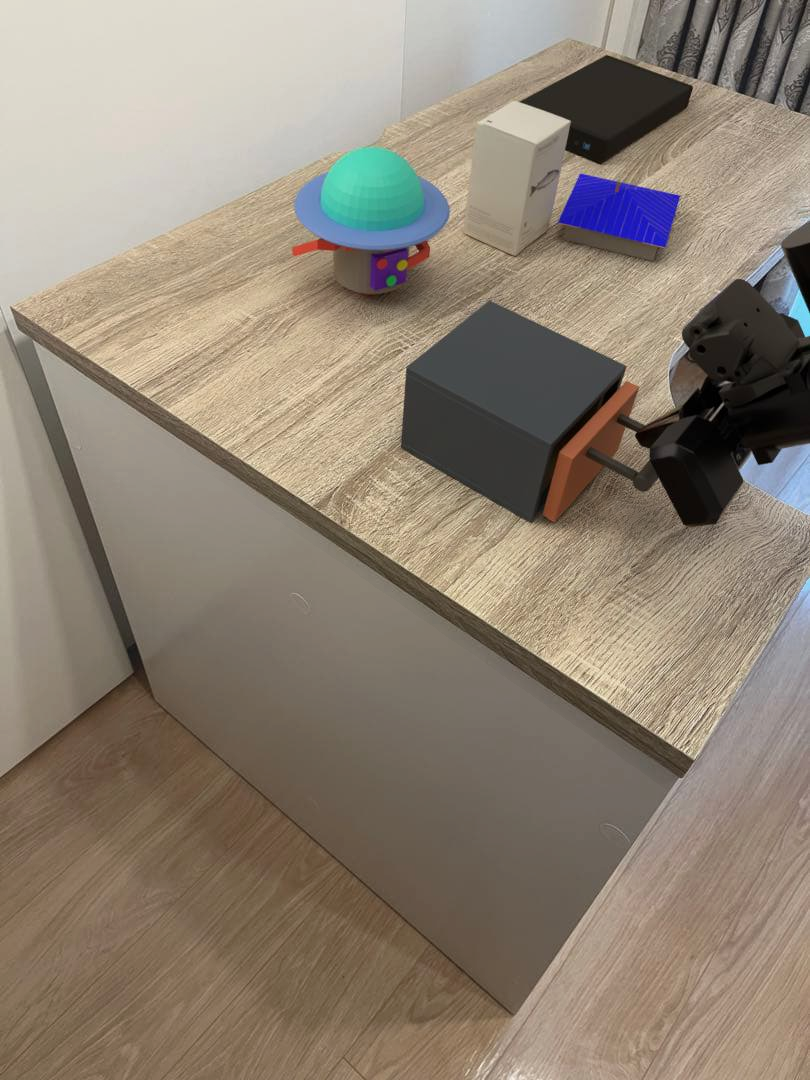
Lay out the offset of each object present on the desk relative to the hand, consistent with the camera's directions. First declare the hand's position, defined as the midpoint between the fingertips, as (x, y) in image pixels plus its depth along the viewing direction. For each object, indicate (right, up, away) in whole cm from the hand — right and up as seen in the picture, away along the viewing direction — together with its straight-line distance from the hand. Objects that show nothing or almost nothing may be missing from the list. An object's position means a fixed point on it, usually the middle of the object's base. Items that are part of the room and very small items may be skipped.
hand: (639, 437), depth 65 cm
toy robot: (-21, +19, +25) cm, 38 cm away
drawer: (-5, -1, +8) cm, 9 cm away
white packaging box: (-6, +27, +33) cm, 43 cm away
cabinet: (-9, 0, +10) cm, 14 cm away
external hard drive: (+9, +50, +53) cm, 73 cm away
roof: (+7, +28, +35) cm, 45 cm away
